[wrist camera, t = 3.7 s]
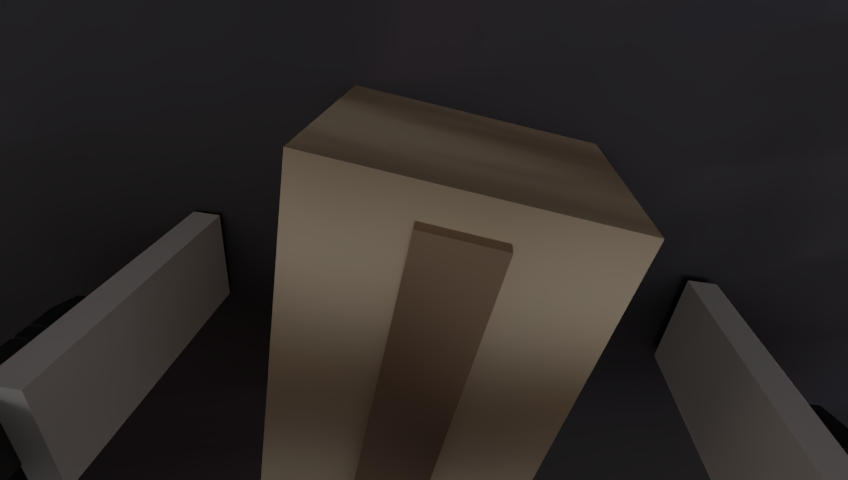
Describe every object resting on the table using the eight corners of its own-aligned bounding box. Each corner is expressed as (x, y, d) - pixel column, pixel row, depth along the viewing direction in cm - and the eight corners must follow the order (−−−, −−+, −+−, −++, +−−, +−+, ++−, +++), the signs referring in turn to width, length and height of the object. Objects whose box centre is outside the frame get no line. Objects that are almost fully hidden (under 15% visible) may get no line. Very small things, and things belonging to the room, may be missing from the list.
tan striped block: (483, 410, 16) (485, 577, 12) (316, 372, 16) (254, 525, 12) (594, 141, 12) (672, 248, 7) (356, 83, 11) (276, 153, 7)
